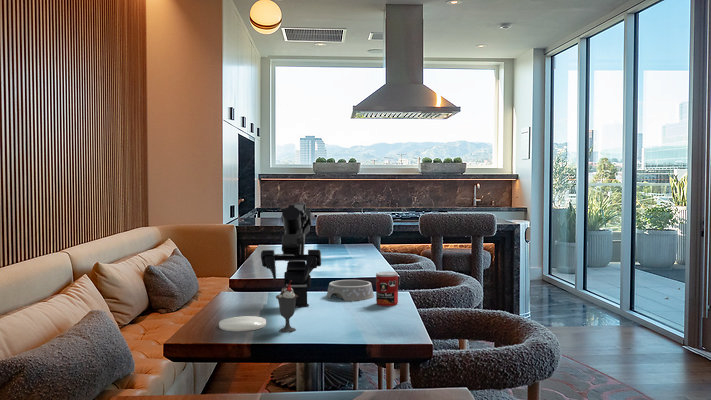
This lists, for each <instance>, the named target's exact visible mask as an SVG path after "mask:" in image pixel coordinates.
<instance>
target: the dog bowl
mask: <svg viewBox="0 0 711 400" xmlns="http://www.w3.org/2000/svg"><path fill="white" fill-rule="evenodd" d="M332 295H333V297H335V298H339V299H343V301H344V302H358V301H359V302H360V301H367V300H371V299H373V298H374V297H375V293H374V290H373V286H372V282H370V281H368V280H362V279H341V280H335V281H334V280H333V281H331V282H329V284H328V288H327V293H326V298H327V299H331V296H332Z"/></svg>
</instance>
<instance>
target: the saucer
mask: <svg viewBox="0 0 711 400" xmlns="http://www.w3.org/2000/svg"><path fill="white" fill-rule="evenodd" d="M266 325H267V319H266V318H264V317H260V316H255V315H252V316H251V315H248V316H247V315H246V316H245V315H244V316H242V315H241V316H234V317H229V318H224V319H221V320H220V321H219V322H218V327H219V329H220V330H223V331H226V332H250V331H255V330H259V329H263V328H264V327H266Z"/></svg>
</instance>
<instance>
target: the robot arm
mask: <svg viewBox="0 0 711 400" xmlns="http://www.w3.org/2000/svg"><path fill="white" fill-rule="evenodd" d="M280 219H281V222H282V224H283V228H284V234H281V235H282V238H281V252H282V253H275V250H274V249H263V250H262V251H261V252H260V260H261V266H262V267H264V268H266V269H268V270H269V271H270V272H271V274H272V275H271V276H272V278H273V281H274V282H276V279H277V269H276V261H278V262H282V261H283V262H284V261H285V262H287V263H286V271H284V275H283V281H284V287H287V285H291V288H292V289H293V292H294V294H295V295H297V296H299V297H298V298H297V299H296V303H295V308H301V307H309V306H310V304H309V303H308V290H309V289H312V280H311V279H312V276H311V272H312V271H313V270H314V269H317V268H318V267H321V266H322V251H321V250H320V249H307V254H305V244H306V243H305V242H306V241H305V240H306V235H308V233H310V231H311V230H310V228H311V227H312V223H313V221H312V212H311V210H310V209H308V208H307V205H306V203H304V202H303V203H301V202H300V203H299V202H298V203H297V202H295V203H292V204H288V207H286V208H285V209H283V210H282V212H281V218H280ZM290 280H292V282H291V283H290V284H289V282H290Z"/></svg>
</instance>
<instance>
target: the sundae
mask: <svg viewBox="0 0 711 400" xmlns="http://www.w3.org/2000/svg"><path fill="white" fill-rule="evenodd" d="M291 282H292V280H290V282H289V284H290V283H291ZM298 297H299V296H297V295H295V294H294V292H293V289H292V288H291V285H287V287H285V286H284V287H282V288H281V290H280V293H279V294H277V295H275V299H276V300H277V301H278V305H279V306H278V307H279V312H280V316H282V318H283V319H284V321H285V325H284V326H283V327H281V328H279V330H278V331H279V332H280V331H281V333H293V332H296V331H297V329H296V328H295V327H292V326H291V325H290V324H291V323H290V319H291V318H292V317H293V316H294V314H295V311H296V307H295V303H296V299H297V298H298Z"/></svg>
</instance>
